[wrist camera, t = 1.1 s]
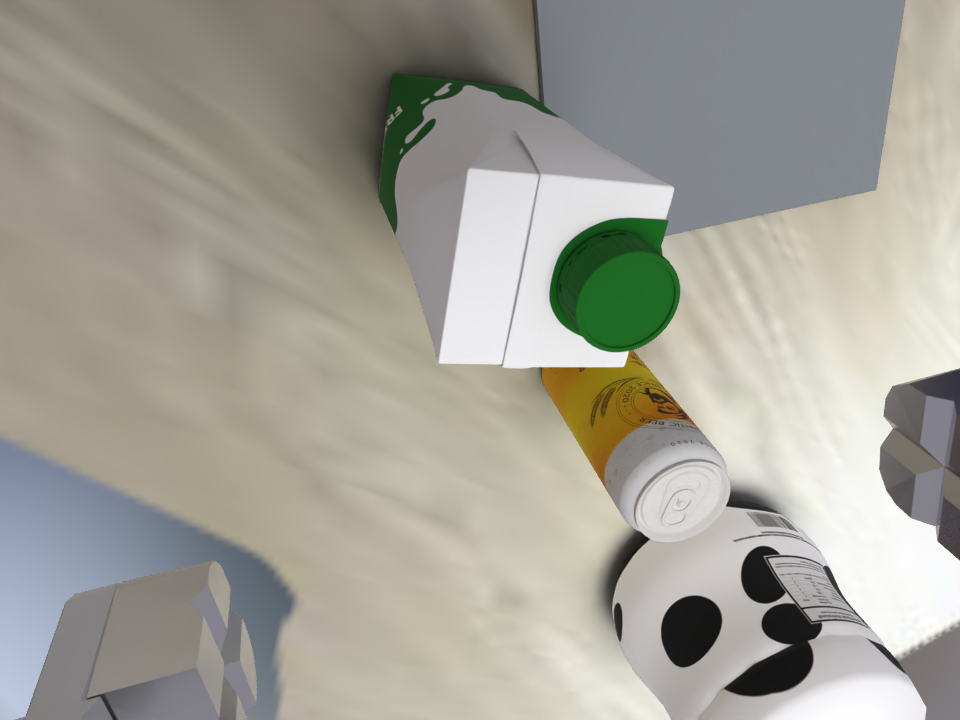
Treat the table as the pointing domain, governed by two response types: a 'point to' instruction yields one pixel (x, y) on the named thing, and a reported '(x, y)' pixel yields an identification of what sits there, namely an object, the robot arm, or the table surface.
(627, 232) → the white carton
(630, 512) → the beer can
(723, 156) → the mat
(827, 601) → the milk container
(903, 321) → the table surface
